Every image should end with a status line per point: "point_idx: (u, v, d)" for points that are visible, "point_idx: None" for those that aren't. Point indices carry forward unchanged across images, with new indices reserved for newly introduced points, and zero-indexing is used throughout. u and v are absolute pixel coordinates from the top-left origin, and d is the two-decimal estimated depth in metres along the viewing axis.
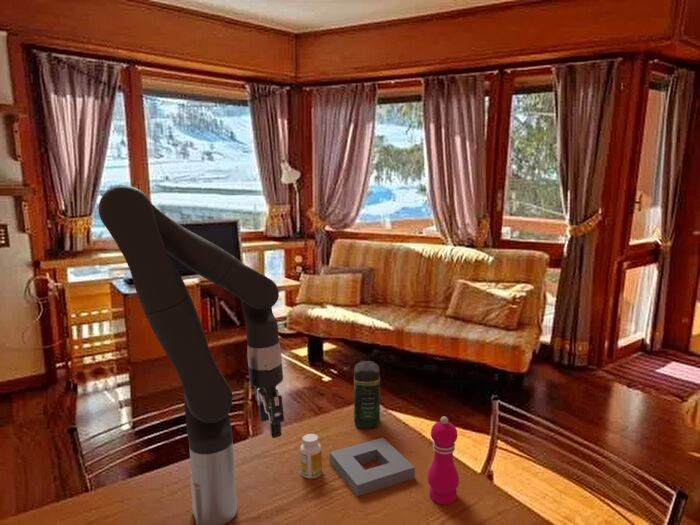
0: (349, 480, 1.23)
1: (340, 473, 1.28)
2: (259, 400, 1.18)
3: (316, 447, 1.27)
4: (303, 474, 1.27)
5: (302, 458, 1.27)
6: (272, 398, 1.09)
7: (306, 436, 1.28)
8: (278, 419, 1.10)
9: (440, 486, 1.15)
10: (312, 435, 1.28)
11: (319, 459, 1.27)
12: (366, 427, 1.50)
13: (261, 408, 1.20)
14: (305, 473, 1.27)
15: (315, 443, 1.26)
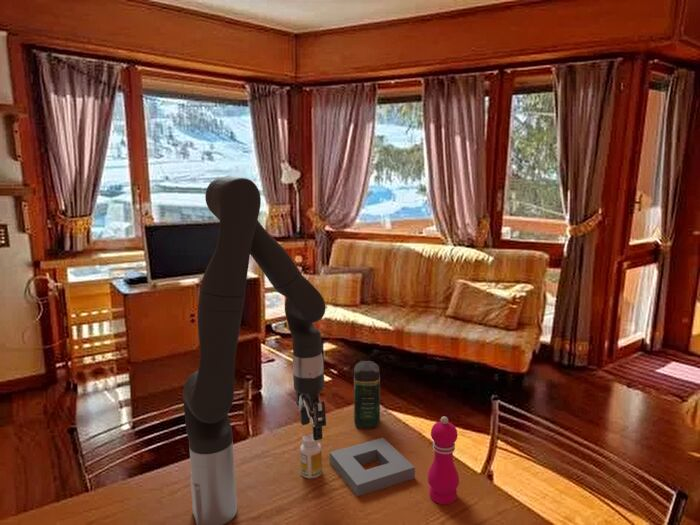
0: (349, 480, 1.23)
1: (340, 473, 1.28)
2: (301, 405, 1.28)
3: (316, 447, 1.27)
4: (303, 474, 1.27)
5: (302, 458, 1.27)
6: (316, 404, 1.19)
7: (306, 436, 1.28)
8: (321, 423, 1.20)
9: (440, 486, 1.15)
10: (312, 435, 1.28)
11: (319, 459, 1.27)
12: (366, 427, 1.50)
13: (302, 413, 1.30)
14: (305, 473, 1.27)
15: (315, 443, 1.26)
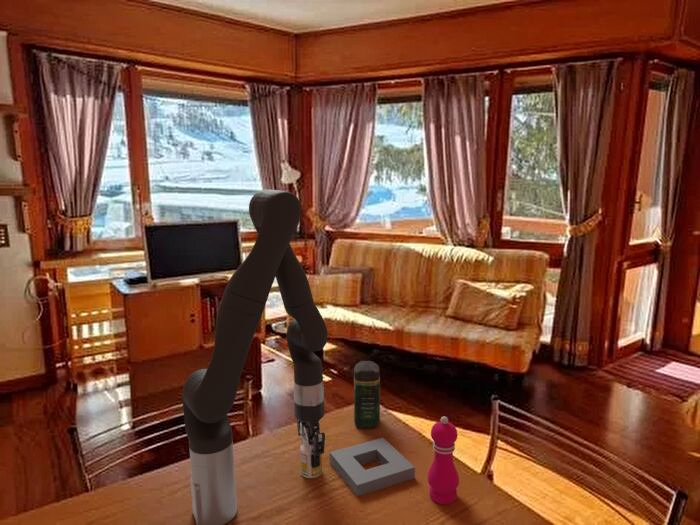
0: (349, 480, 1.23)
1: (340, 473, 1.28)
2: (302, 434, 1.29)
3: None
4: (303, 474, 1.27)
5: (302, 458, 1.27)
6: (316, 435, 1.21)
7: None
8: (319, 452, 1.23)
9: (440, 486, 1.15)
10: None
11: None
12: (366, 427, 1.50)
13: None
14: (305, 473, 1.27)
15: None
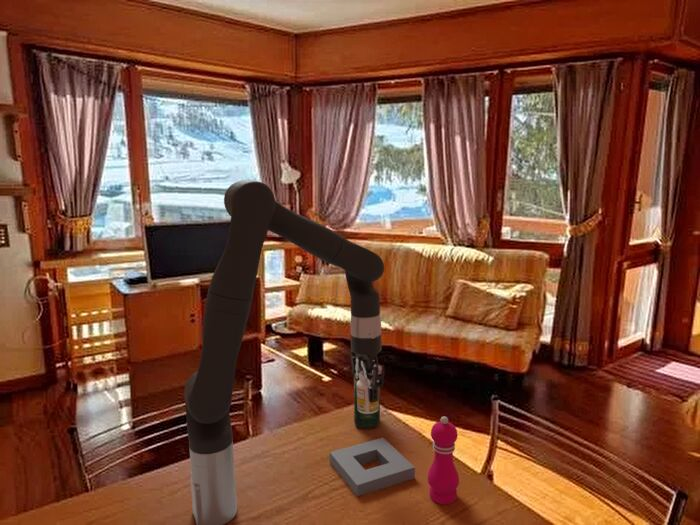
0: (349, 480, 1.23)
1: (340, 473, 1.28)
2: (358, 370, 1.27)
3: None
4: (360, 410, 1.25)
5: (359, 393, 1.25)
6: (376, 367, 1.19)
7: (362, 372, 1.26)
8: (378, 385, 1.21)
9: (440, 486, 1.15)
10: None
11: None
12: (366, 427, 1.50)
13: None
14: (362, 409, 1.25)
15: None
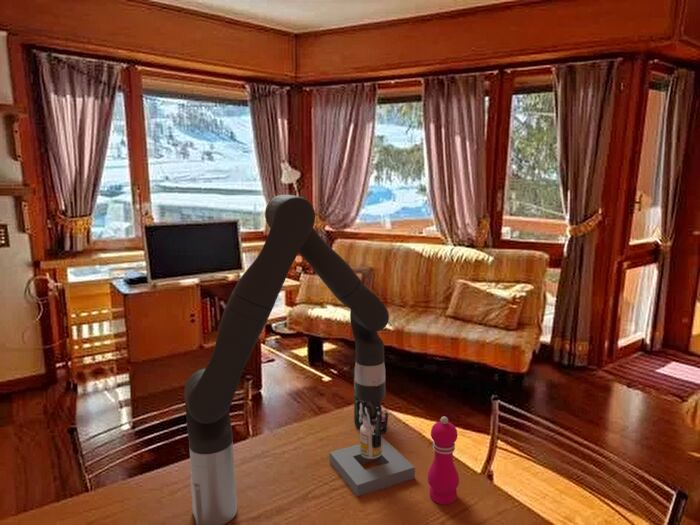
0: (349, 480, 1.23)
1: (340, 473, 1.28)
2: (362, 415, 1.28)
3: None
4: (363, 455, 1.27)
5: (363, 439, 1.26)
6: (380, 415, 1.21)
7: (366, 417, 1.28)
8: (381, 432, 1.22)
9: (440, 486, 1.15)
10: None
11: None
12: None
13: None
14: (366, 454, 1.27)
15: None
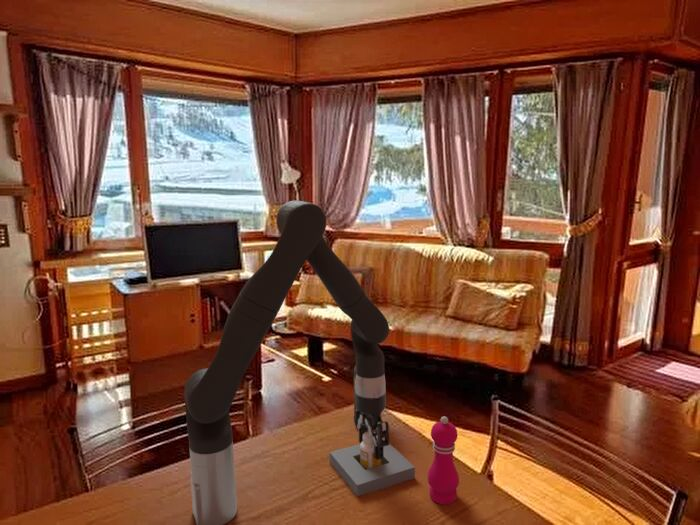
0: (349, 480, 1.23)
1: (340, 473, 1.28)
2: (361, 424, 1.30)
3: None
4: None
5: (363, 456, 1.27)
6: (380, 424, 1.21)
7: (366, 434, 1.29)
8: (384, 443, 1.22)
9: (440, 486, 1.15)
10: None
11: None
12: None
13: (361, 431, 1.31)
14: None
15: None
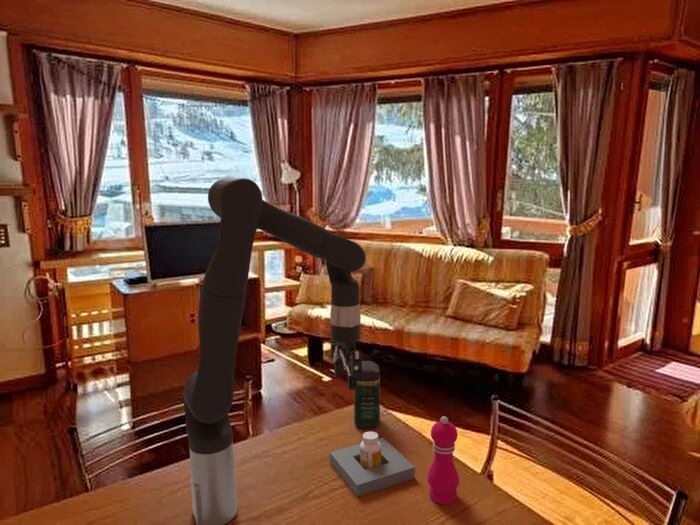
0: (349, 480, 1.23)
1: (340, 473, 1.28)
2: (336, 357, 1.30)
3: (376, 445, 1.27)
4: None
5: (363, 456, 1.27)
6: (353, 352, 1.21)
7: (366, 434, 1.29)
8: (357, 371, 1.22)
9: (440, 486, 1.15)
10: (371, 433, 1.29)
11: (379, 457, 1.28)
12: (366, 427, 1.50)
13: (336, 365, 1.32)
14: None
15: (376, 441, 1.27)
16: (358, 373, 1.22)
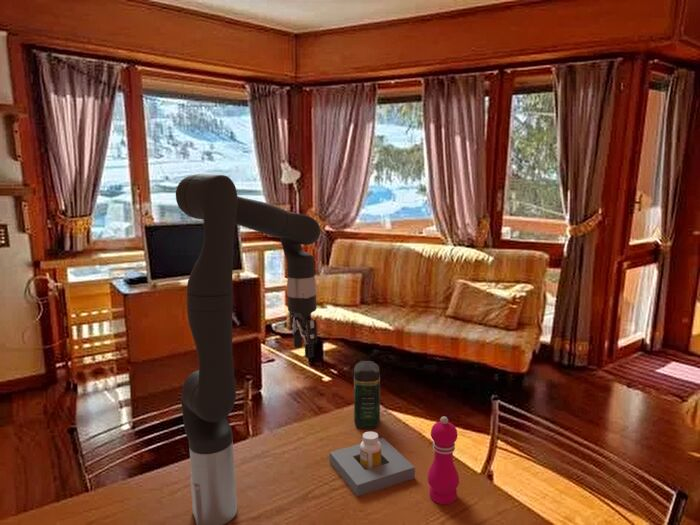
0: (349, 480, 1.23)
1: (340, 473, 1.28)
2: (294, 328, 1.36)
3: (376, 445, 1.27)
4: None
5: (363, 455, 1.27)
6: (308, 321, 1.28)
7: (366, 434, 1.29)
8: (312, 340, 1.28)
9: (440, 486, 1.15)
10: (371, 433, 1.29)
11: (379, 456, 1.28)
12: (366, 427, 1.50)
13: (295, 336, 1.38)
14: None
15: (376, 441, 1.27)
16: (313, 341, 1.28)
